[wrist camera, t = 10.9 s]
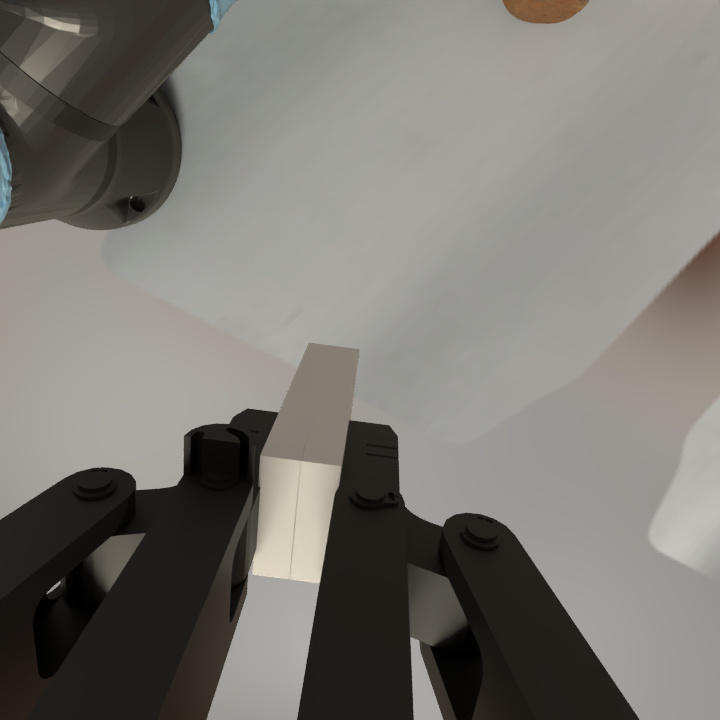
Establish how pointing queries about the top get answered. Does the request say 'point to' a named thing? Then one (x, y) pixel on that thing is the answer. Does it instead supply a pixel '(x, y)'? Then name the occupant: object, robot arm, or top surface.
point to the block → (544, 9)
